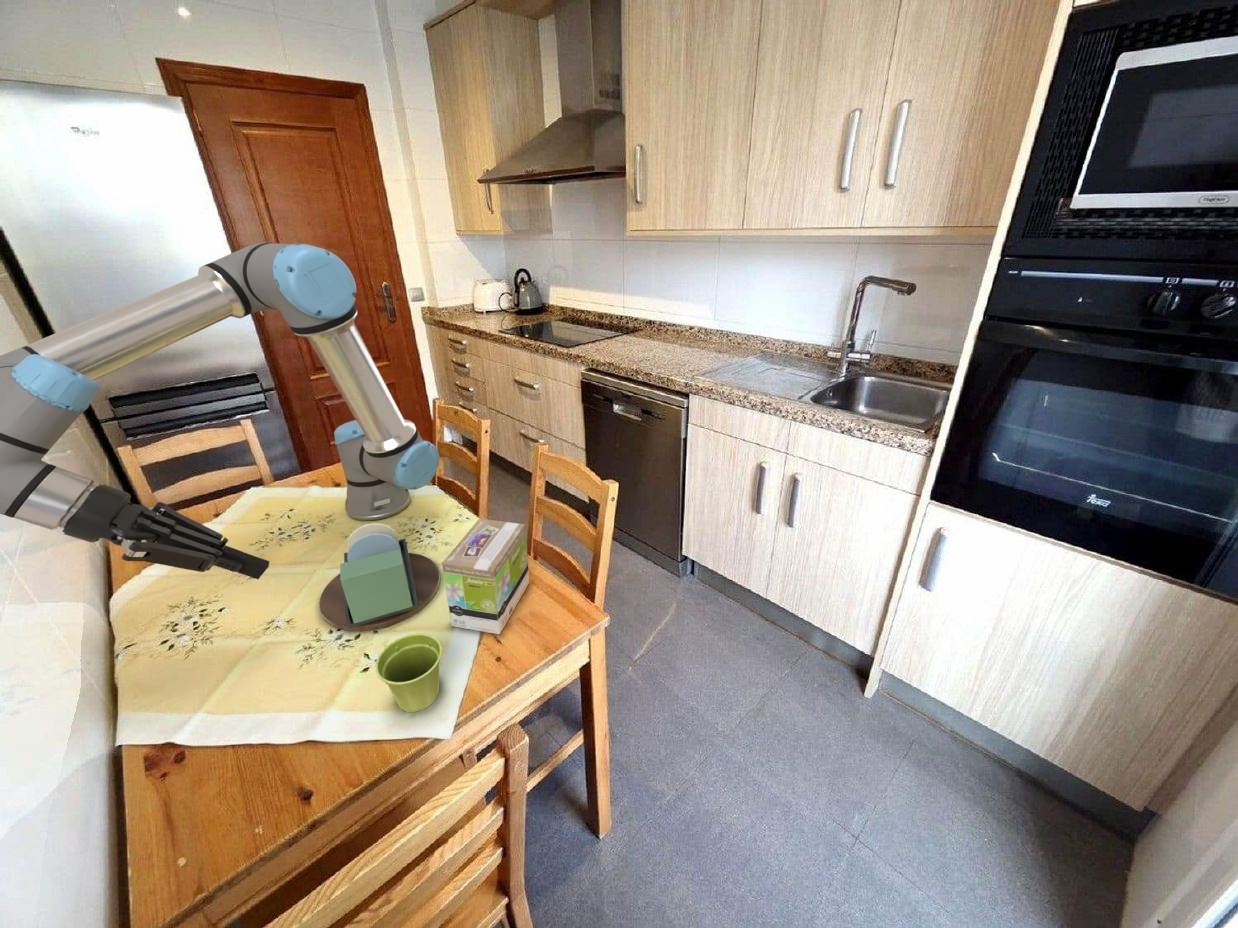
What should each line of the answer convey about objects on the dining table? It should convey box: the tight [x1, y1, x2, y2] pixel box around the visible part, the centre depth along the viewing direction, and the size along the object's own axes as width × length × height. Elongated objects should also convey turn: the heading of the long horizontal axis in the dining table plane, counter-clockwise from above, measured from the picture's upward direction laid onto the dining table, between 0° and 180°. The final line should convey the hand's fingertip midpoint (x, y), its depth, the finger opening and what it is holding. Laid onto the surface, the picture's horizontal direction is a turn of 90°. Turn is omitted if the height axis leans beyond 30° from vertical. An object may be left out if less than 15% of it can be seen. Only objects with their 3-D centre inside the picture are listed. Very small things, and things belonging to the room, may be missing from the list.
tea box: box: [441, 517, 530, 635], centre depth 94 cm, size 15×10×15 cm, turn 168°
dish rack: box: [339, 522, 419, 629], centre depth 98 cm, size 20×12×11 cm, turn 26°
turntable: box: [318, 552, 441, 632], centre depth 101 cm, size 22×22×1 cm
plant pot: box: [374, 633, 443, 713], centre depth 77 cm, size 9×9×9 cm
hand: (263, 570), depth 82 cm, fingers closed
